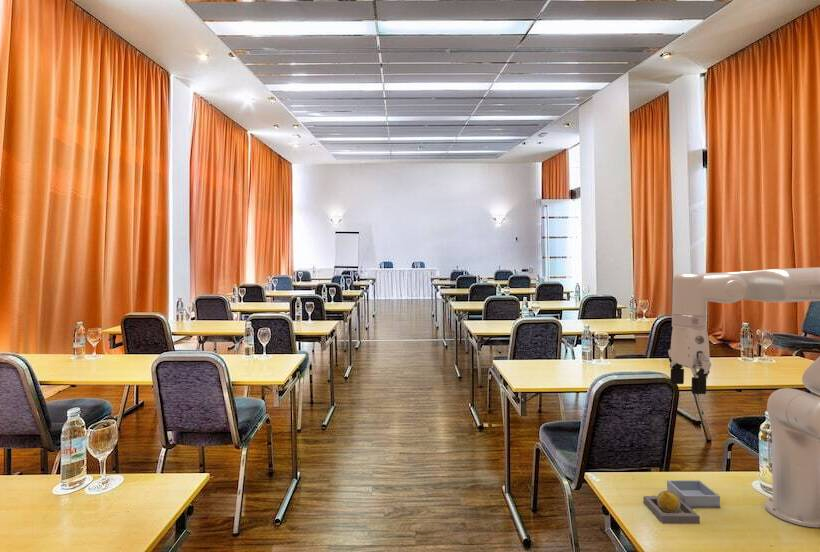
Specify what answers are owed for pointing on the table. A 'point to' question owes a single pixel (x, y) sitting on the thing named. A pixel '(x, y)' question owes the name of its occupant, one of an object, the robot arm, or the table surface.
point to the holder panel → (685, 517)
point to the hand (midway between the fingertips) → (687, 388)
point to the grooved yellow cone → (669, 502)
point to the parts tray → (694, 493)
